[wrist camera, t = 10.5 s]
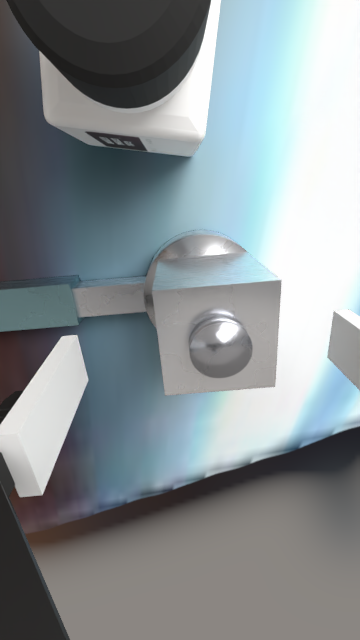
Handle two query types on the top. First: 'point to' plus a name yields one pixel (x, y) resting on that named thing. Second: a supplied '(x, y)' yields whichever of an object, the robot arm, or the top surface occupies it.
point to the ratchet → (98, 289)
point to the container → (125, 69)
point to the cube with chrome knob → (216, 323)
